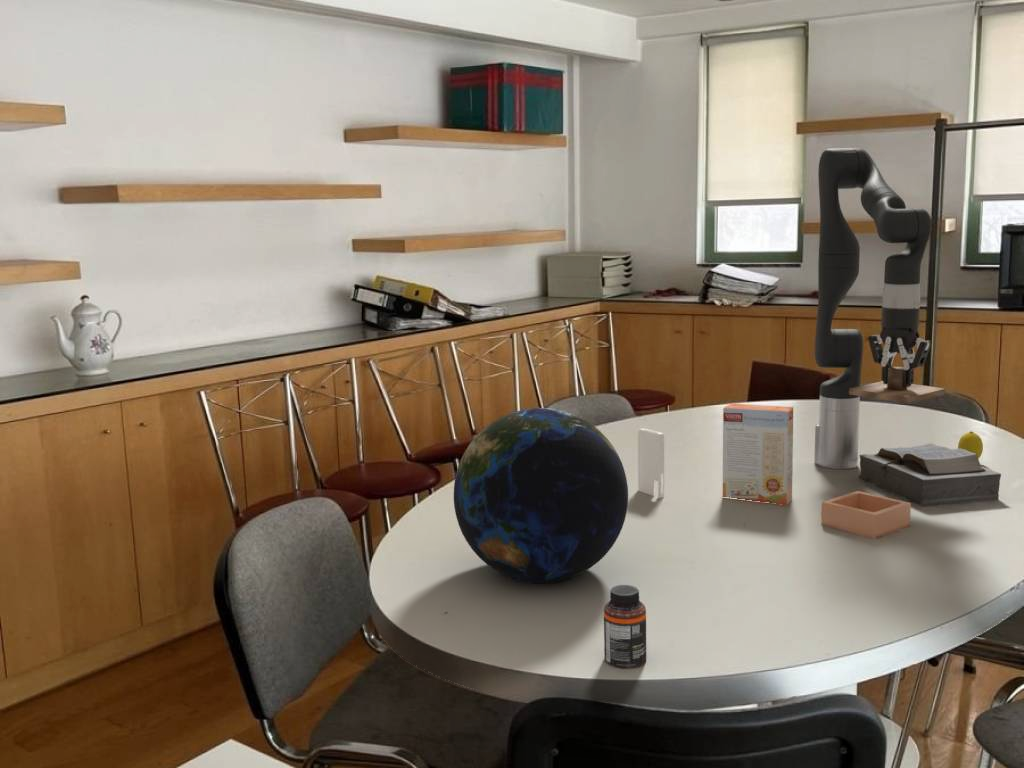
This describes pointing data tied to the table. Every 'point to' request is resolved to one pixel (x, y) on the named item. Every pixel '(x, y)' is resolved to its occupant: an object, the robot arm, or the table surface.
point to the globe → (540, 495)
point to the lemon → (971, 443)
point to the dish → (866, 514)
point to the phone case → (650, 461)
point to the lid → (896, 389)
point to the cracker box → (758, 452)
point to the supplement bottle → (625, 628)
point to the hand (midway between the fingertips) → (897, 384)
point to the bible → (931, 475)
